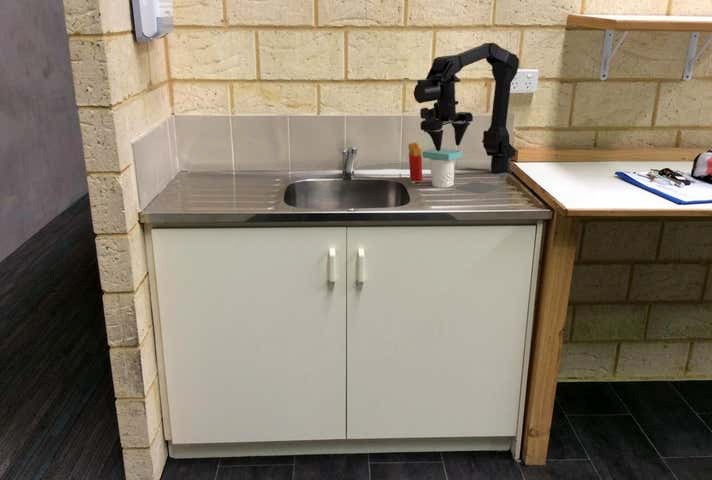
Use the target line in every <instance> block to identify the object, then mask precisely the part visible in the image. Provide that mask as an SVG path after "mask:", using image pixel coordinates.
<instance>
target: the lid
mask: <svg viewBox="0 0 712 480" xmlns="http://www.w3.org/2000/svg"><path fill="white" fill-rule="evenodd" d="M459 158H463V151H462V150H457V149H448V148H441V149H440V151H437V150H436V148H435V147H433V148H431V149H426V150H424V151H423V150H422V159H428V160H430V159H437V160H444V161H451V160H454V161H455V160H457V159H459Z"/></svg>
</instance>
